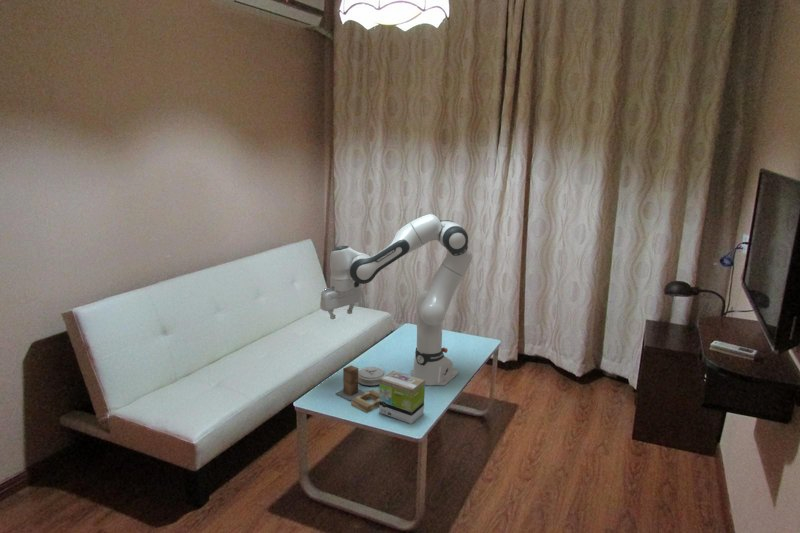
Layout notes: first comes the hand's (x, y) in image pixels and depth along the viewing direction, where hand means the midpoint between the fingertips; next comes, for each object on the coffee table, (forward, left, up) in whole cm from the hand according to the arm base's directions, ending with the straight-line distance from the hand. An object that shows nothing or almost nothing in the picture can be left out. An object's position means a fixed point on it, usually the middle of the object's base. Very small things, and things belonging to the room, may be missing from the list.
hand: (341, 316), depth 220 cm
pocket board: (+4, +21, -31) cm, 38 cm away
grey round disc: (-11, +7, -31) cm, 34 cm away
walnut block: (+4, +10, -30) cm, 32 cm away
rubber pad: (+4, +10, -31) cm, 33 cm away
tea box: (+1, +36, -31) cm, 48 cm away
